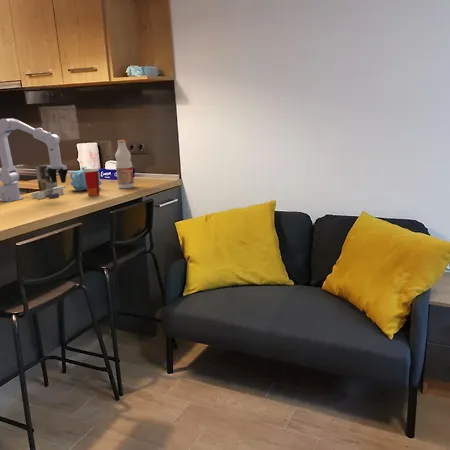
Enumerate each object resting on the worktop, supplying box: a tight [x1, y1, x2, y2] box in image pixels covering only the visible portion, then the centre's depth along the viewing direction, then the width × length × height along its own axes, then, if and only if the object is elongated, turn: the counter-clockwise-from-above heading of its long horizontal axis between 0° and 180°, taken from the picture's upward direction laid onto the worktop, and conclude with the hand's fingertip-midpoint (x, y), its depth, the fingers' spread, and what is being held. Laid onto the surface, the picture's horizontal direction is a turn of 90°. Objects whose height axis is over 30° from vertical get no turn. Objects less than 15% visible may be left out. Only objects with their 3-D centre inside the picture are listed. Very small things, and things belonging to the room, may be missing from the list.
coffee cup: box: [83, 167, 100, 197], centre depth 256 cm, size 8×8×15 cm
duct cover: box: [46, 184, 66, 190], centre depth 265 cm, size 9×5×3 cm, turn 146°
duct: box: [31, 188, 65, 200], centre depth 261 cm, size 16×6×3 cm, turn 146°
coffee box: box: [35, 164, 59, 192], centre depth 274 cm, size 9×6×16 cm
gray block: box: [48, 193, 60, 199], centre depth 257 cm, size 4×4×2 cm
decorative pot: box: [69, 166, 103, 192], centre depth 277 cm, size 16×16×14 cm
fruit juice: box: [114, 139, 135, 189], centre depth 276 cm, size 9×9×28 cm
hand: (59, 182), depth 252 cm, fingers open, 7 cm apart
